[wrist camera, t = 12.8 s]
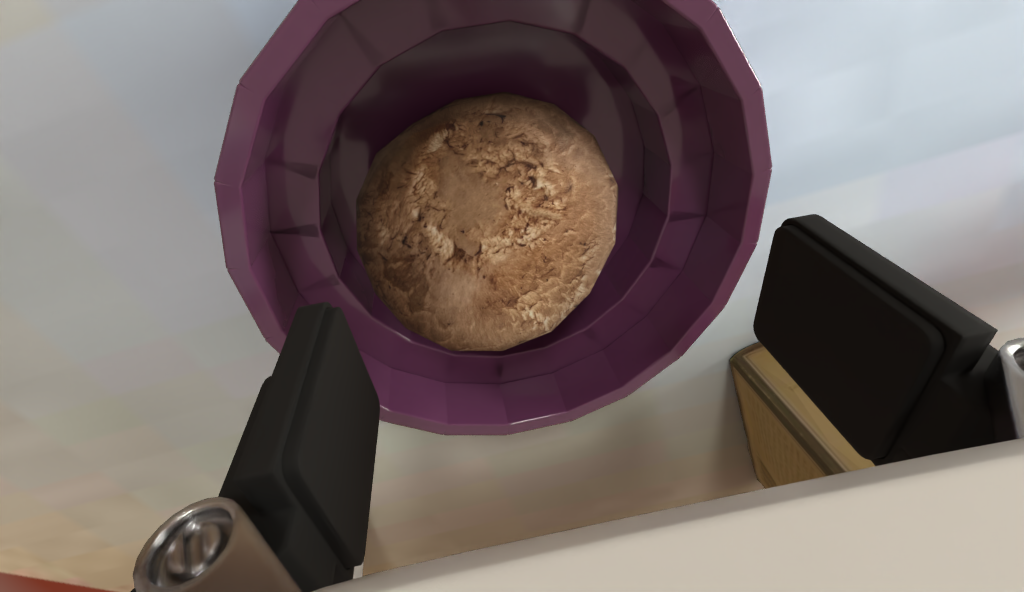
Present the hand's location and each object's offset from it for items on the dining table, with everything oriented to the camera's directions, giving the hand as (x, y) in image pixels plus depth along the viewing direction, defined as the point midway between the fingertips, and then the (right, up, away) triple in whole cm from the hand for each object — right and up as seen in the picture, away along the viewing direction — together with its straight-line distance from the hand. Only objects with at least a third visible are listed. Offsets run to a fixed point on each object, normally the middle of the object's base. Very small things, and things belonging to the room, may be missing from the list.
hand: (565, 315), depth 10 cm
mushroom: (-2, +4, +7) cm, 8 cm away
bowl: (-2, +4, +7) cm, 9 cm away
